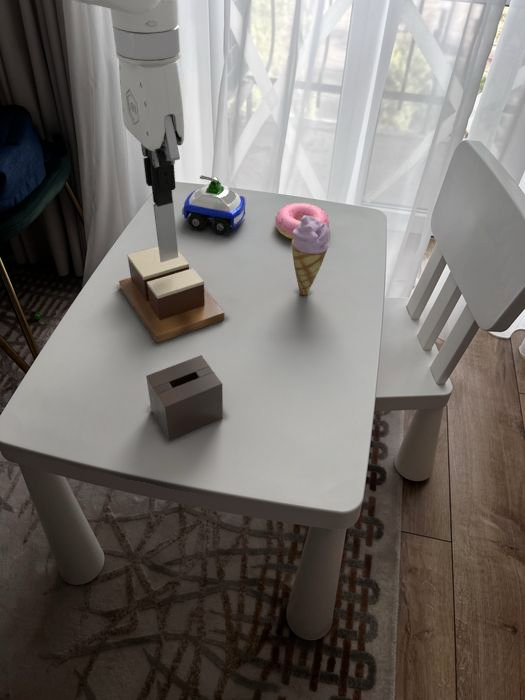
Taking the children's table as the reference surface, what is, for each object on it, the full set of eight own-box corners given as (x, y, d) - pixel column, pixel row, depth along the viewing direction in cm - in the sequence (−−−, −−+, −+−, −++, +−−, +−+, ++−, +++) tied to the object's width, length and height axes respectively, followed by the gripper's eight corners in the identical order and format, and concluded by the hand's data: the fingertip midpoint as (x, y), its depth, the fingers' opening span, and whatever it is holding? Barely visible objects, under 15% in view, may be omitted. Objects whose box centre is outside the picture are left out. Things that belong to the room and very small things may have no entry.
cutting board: (156, 343, 83) (155, 336, 82) (119, 287, 93) (118, 280, 92) (224, 319, 88) (224, 312, 87) (182, 268, 98) (182, 262, 97)
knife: (162, 264, 83) (149, 153, 71) (158, 259, 84) (144, 148, 72) (180, 259, 84) (170, 148, 72) (175, 254, 85) (165, 144, 73)
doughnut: (318, 250, 104) (321, 231, 101) (266, 236, 107) (267, 218, 104) (334, 223, 111) (337, 205, 109) (285, 211, 114) (286, 193, 111)
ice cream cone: (284, 280, 97) (291, 205, 86) (318, 279, 97) (329, 205, 87) (288, 303, 92) (296, 227, 81) (324, 303, 92) (336, 227, 82)
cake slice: (159, 320, 85) (157, 295, 81) (150, 306, 87) (146, 281, 84) (204, 305, 88) (204, 281, 85) (194, 292, 90) (192, 268, 87)
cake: (146, 301, 88) (143, 277, 85) (130, 279, 92) (127, 254, 89) (190, 287, 91) (189, 263, 88) (173, 266, 95) (171, 242, 92)
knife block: (169, 441, 70) (165, 407, 65) (151, 410, 74) (145, 375, 69) (222, 417, 73) (222, 383, 69) (203, 389, 77) (201, 354, 72)
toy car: (195, 205, 114) (193, 163, 108) (249, 215, 112) (250, 172, 106) (179, 227, 108) (176, 183, 101) (236, 238, 106) (237, 194, 99)
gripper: (94, 28, 66) (115, 169, 79) (143, 66, 57) (158, 219, 69) (150, 22, 69) (162, 159, 82) (206, 58, 60) (210, 206, 72)
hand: (160, 186), depth 75 cm, fingers closed on knife, 1 cm apart
